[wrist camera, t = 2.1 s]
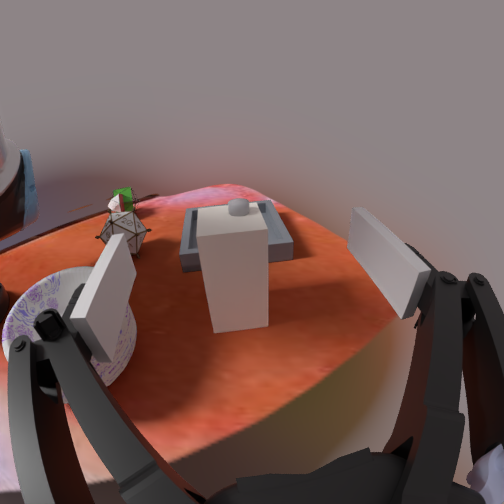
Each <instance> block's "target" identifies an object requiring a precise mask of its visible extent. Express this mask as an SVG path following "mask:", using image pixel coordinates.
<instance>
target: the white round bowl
mask: <svg viewBox="0 0 504 504" xmlns="http://www.w3.org/2000/svg"><path fill="white" fill-rule="evenodd" d="M93 269H94V267H88V266H83V267H74V268H69V269H65V270H62V271H59V272H56V273H54V274H51V275H49V276H47V277H45V278H44V279H42V280H40V281H39V282H37V283H36V284H34V285H33V286H32V287H31V288H29V289H28V290H27V291H26V292H25V293H24V294H23V295H22V296H21V297H20V298H19V299H18V301H17V302H16V303H15V304H14V306H13V307H12V309H11V311H10V312H9V314H8V316H7V318H6V321H5V324H4V328H3V333H2V345H3V350H4V354H5V357H6V359H7V361H8V359H9V348H10V345H11V343H12V342H13V340H14V339H15V338H16V337H18V336H20V335H27V336H28V337H29V338H30V339H31V341H32V342H34V341H37V340H40V339H41V337H40V336H39V335H38V333H37V332H36V330H35V329H34V327H33V323H34V320H35V318H36V317H37V316H38V315H39V314H40V313H41V312H42V311H44V310H46V309H50V308H53V309H56V310H57V311H58V312H59V314H60V316H61V317H62V315H63V313H64V311H65V309H66V307H67V305H68V303H69V301H70V299H71V297H72V295H73V293H74V291H75V290H76V289H77V288H78V287H79V285H80V284H82V283H86V282H87V280H88V278H89V276H90V274H91V272H92V270H93ZM136 337H137V326H136V321H135V318H134V315H133V313H132V310H131V308H130V305H129V303H127V307H126V310H125V314H124V318H123V321H122V325H121V329H120V333H119V337H118V341H117V345H116V349H115V354H114V358H113V363H98V362H97V361H96V359H95V358H94V356H93V355H92V357H91V361H90V362H91V363H92V365H93V366H94V368H95V369H96V371H97V373H98V374H99V376H100V377H101V379H102V380H103V382H104V384H105V385H106V387H107V386H109V385H110V384H111V383H112V382H113V381H114V380H115V379H116V378H117V377H118V376H119V375H120V374H121V372H122V371H123V370H124V368H125V367H126V366H127V363H128V362H129V360H130V358H131V356H132V353H133V351H134V346H135V341H136ZM61 392H62V398H63V403H65V404H66V403H68V401H67V399H66V397H65V395H64V393H63V390H62V388H61Z"/></svg>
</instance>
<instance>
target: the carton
mask: <svg viewBox="0 0 504 504" xmlns="http://www.w3.org/2000/svg"><path fill="white" fill-rule="evenodd" d="M196 239H197V245H198V251H199V257H200V263H201V268H202V274H203V280H204V285H205V290H206V296H207V301H208V306H209V311H210V316H211V321H212V326H213V331H214V333H221V332H230V331H238V330H246V329H254V328H261V327H268V228H267V226H266V223H265V221H264V219H263V216H262V214H261V212H260V209H259V207H258V205H257V202H254V203H249V201H248V200H247V199H241V198H239V199H233V200H230V201H229V202H228V205H224V206H215V207H206V208H198V217H197V232H196Z"/></svg>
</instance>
